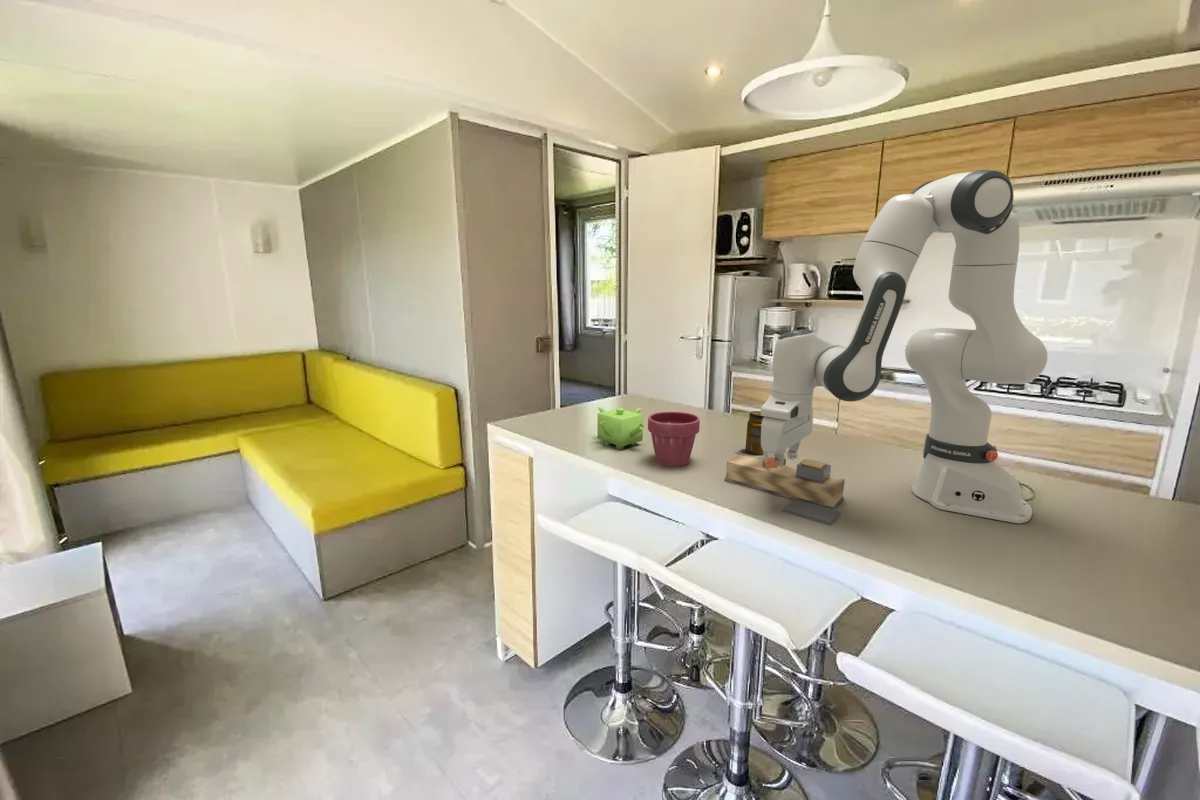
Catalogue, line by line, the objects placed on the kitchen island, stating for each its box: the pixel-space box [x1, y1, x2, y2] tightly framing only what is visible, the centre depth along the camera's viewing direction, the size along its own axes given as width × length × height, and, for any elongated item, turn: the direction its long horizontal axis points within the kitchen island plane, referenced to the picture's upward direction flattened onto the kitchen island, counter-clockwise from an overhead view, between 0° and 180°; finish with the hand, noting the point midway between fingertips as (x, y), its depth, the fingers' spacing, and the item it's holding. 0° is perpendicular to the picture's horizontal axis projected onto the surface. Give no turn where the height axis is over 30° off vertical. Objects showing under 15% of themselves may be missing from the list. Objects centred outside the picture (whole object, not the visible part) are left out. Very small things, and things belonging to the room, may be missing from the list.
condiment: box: [735, 410, 765, 459], centre depth 151 cm, size 7×8×12 cm
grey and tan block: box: [796, 458, 832, 484], centre depth 119 cm, size 6×5×4 cm
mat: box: [782, 499, 842, 526], centre depth 113 cm, size 10×7×1 cm
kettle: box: [596, 406, 645, 450], centre depth 159 cm, size 15×14×11 cm
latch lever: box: [761, 451, 778, 468], centre depth 121 cm, size 14×2×6 cm, turn 166°
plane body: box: [724, 454, 845, 510], centre depth 125 cm, size 26×7×5 cm, turn 49°
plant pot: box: [647, 411, 701, 467], centre depth 143 cm, size 14×14×13 cm
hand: (786, 462), depth 118 cm, fingers open, 5 cm apart
